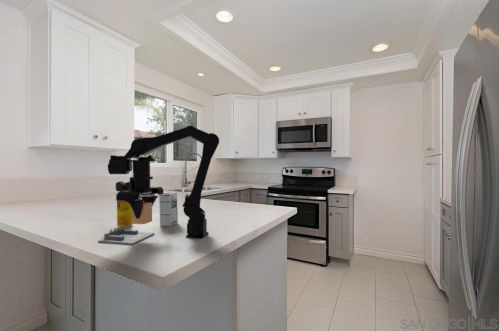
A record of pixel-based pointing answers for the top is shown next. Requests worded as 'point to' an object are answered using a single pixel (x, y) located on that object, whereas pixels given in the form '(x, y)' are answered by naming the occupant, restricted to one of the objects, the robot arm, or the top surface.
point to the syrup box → (168, 208)
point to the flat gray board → (124, 236)
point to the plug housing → (143, 214)
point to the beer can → (124, 214)
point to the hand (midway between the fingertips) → (142, 216)
